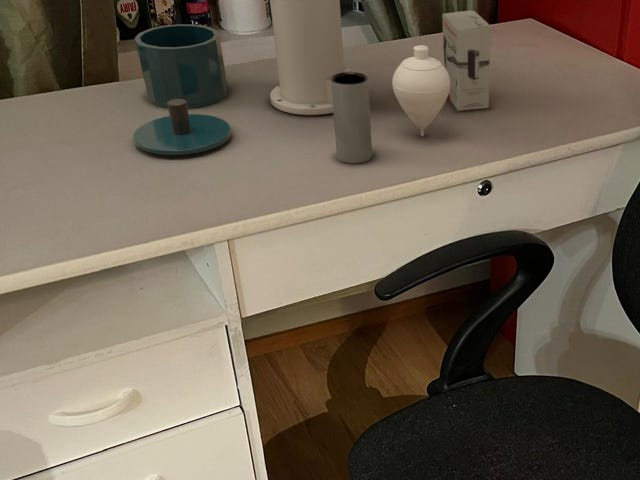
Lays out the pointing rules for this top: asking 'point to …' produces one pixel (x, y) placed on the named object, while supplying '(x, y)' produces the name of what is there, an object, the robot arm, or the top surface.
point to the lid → (181, 132)
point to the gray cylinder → (351, 117)
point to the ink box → (467, 59)
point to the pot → (182, 64)
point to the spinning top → (421, 87)
